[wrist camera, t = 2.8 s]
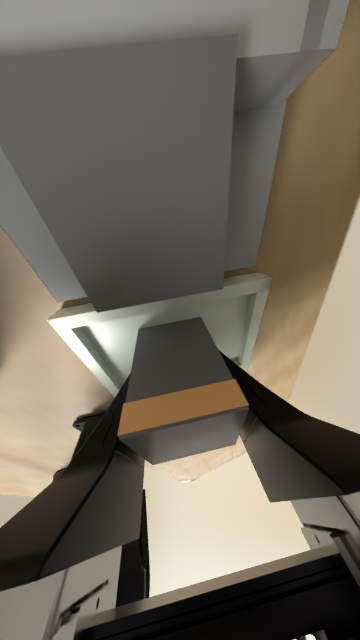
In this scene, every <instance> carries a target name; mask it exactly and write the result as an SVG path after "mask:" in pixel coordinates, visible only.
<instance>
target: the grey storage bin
mask: <svg viewBox="0 0 360 640" xmlns="http://www.w3.org/2000/svg"><path fill="white" fill-rule="evenodd" d="M349 1H350V0H0V226H1V227H2V228H3V230H4V231H5V232H6V234H7V235H8V236H9V238H10V239H11V240H12V242H13V243H14V244H15V246H16V247H17V248H18V250H19V251H20V253H21V254H22V255H23V257H24V258H25V259H26V261H27V262H28V263H29V265H30V266H31V267H32V269H33V270H34V271H35V273H36V274H37V275H38V277H39V278H40V279H41V281H42V282H43V283H44V285H45V286H46V287H47V289H48V290H49V291H50V293H51V294H52V295H53V297H54V298H55V300H56V301H57V302H61V301H67V300H72V299H78V298H83V297H88V298H89V300H90V302H91V303H92V305H93V307H94V308H95V310H96V312H97V313H99V312H104V311H110V310H115V309H120V308H126V307H131V306H136V305H142V304H147V303H152V302H157V301H163V300H168V299H173V298H179V297H184V296H189V295H194V294H200V293H205V292H210V291H216V290H221V289H223V285H224V272H226V271H231V270H237V269H242V268H248V267H253V266H256V264H257V259H258V253H259V248H260V243H261V237H262V232H263V227H264V221H265V216H266V211H267V205H268V200H269V195H270V189H271V184H272V179H273V173H274V168H275V163H276V157H277V152H278V147H279V141H280V136H281V131H282V125H283V120H284V115H285V109H286V104H287V99H288V97H289V96H290V95H291V94H292V92H293V91H294V90H295V89H296V88H297V87H298V86H299V85H300V84H301V83H302V82H303V81H304V80H305V79H306V78H307V77H308V76H309V75H310V74H311V73H312V72H313V71H314V70H315V69H316V68H317V67H318V66H319V65H320V64H321V63H322V62H323V61H324V60H325V59H326V58H327V57H328V56H329V55H330V54H331V53H332V52H333V51H334V50H335V49H336V48H337V45H338V41H339V38H340V34H341V30H342V27H343V23H344V20H345V16H346V12H347V9H348V5H349Z"/></svg>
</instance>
